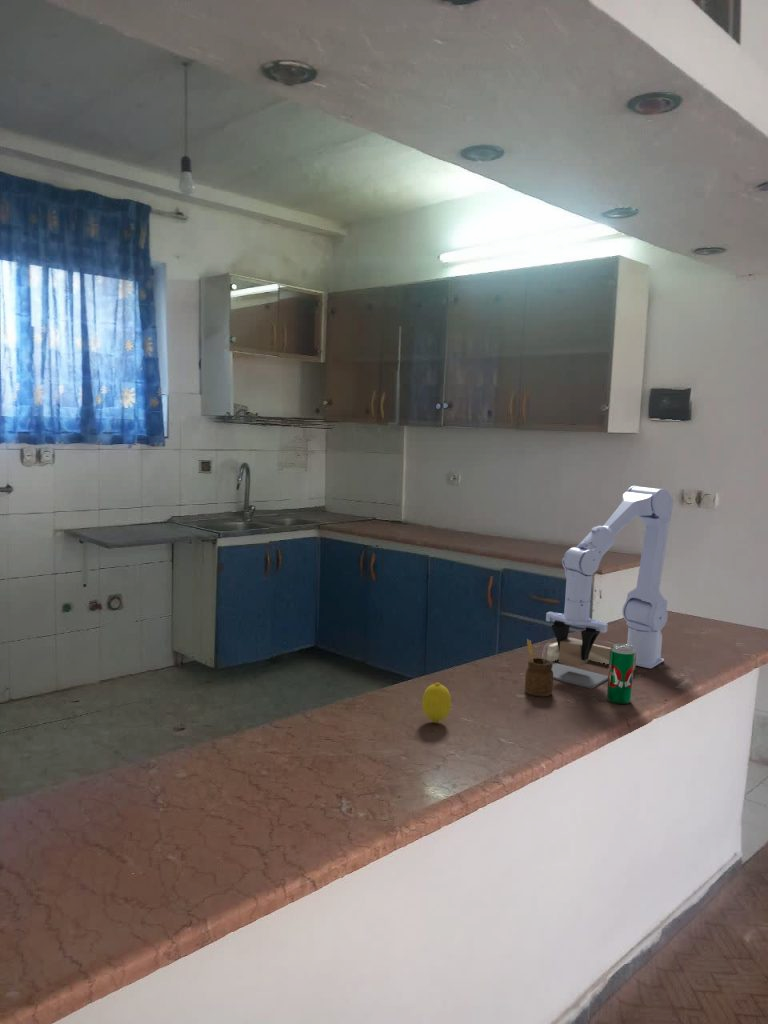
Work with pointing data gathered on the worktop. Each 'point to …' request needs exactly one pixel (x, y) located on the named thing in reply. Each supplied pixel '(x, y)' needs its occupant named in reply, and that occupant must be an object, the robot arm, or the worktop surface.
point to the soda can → (620, 673)
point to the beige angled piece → (595, 654)
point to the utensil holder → (539, 675)
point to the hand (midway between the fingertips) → (573, 656)
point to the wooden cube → (571, 652)
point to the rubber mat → (577, 676)
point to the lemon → (436, 702)
